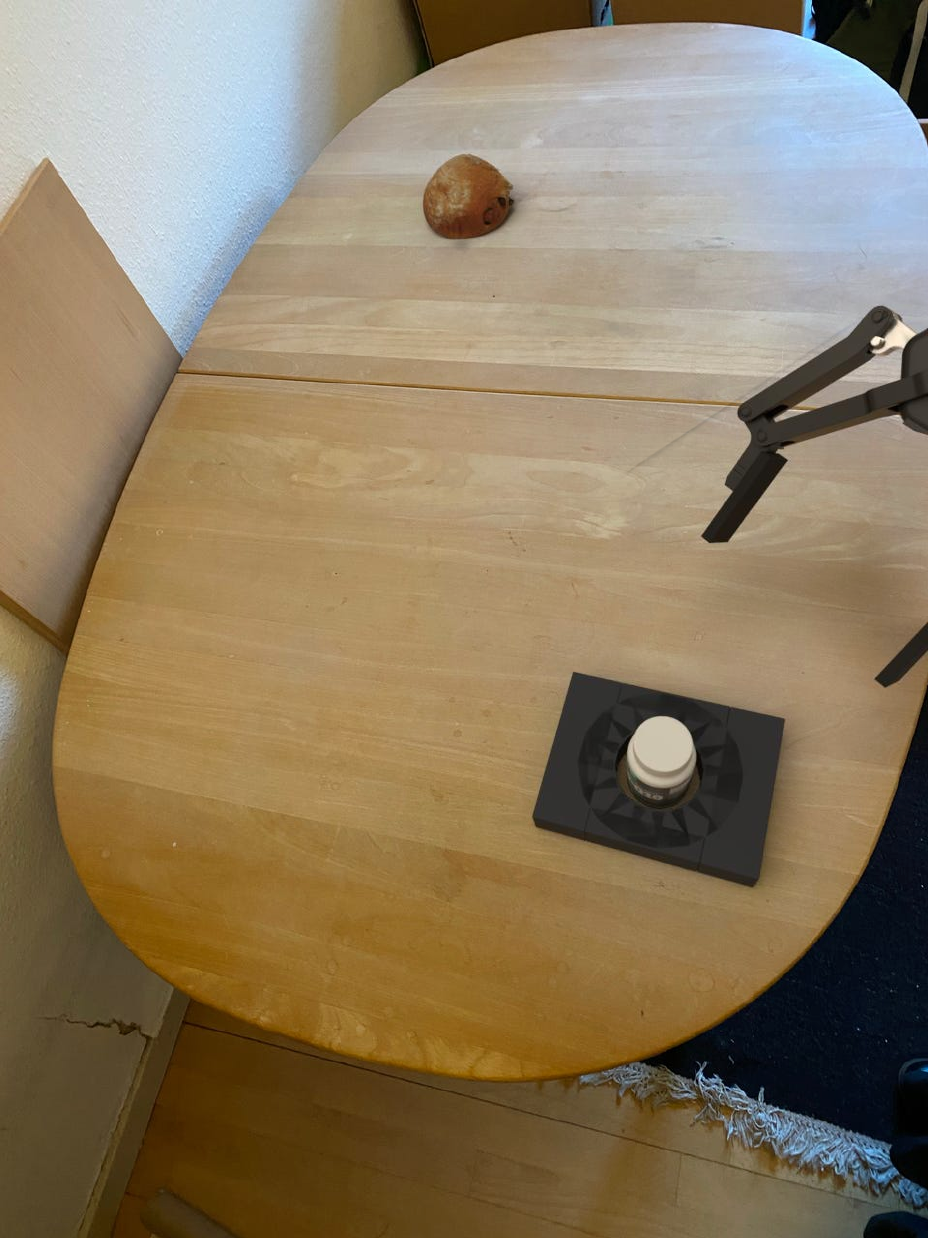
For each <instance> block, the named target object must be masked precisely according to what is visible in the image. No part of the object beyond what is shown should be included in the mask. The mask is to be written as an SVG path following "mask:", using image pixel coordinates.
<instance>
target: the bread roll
mask: <svg viewBox="0 0 928 1238" xmlns="http://www.w3.org/2000/svg"><path fill="white" fill-rule="evenodd" d="M513 189H514V185H513V184H512V183H511V182H510V181H509V180H507V178H506V177H505V176H503V175H502V173H501V172H500V170H499V168H497V167H495V166H494V165H493V164H491V163H490V162H488V161H487V160H485V159H483V158H481V157H479V156H477V155H473V154H472V153H461V154H458V155H455V156H453V157H451V158H450V159H448V160H446V161H445V162H444V163H443V164H441V165H440V166H439V167H438V168H437V169H436V171H435V173H434V174H433V176H432V177H431V178H430V179H429V181H428V182H427V184H426V186H425V188H424V193H423V198H422V210H423V215H424V218H425V221H426V223H427V224H428V226H429V227H430V228H431V229H432V230H433V231H434V232H435V233H437V234H438V235H441V236H442V237H445V238H448V239H451V240H452V239H453V240H454V239H455V240H456V239H457V240H459V239H470V238H477V237H481V236H483V235H486V234H487V233H490V232H492V231H494V230H495V229H497V228H498V227H499V226H500V225H501V224H502V223H503V222H504V221H505V219H506V216H507V214H508V212H509V211H510V208H511V206H513V205H514V204H515V199H512V198H511V196H510V191H512V190H513Z"/></svg>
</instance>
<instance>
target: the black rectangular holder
mask: <svg viewBox="0 0 928 1238" xmlns="http://www.w3.org/2000/svg"><path fill="white" fill-rule="evenodd" d="M657 716H666V717H671V718H674V719H676V720H678V721H680V722H681V723H682V724H683V725H684V726H685V727H686V728H687V729H688V730H689V732H690V734H691V737H692V740H693V744H694V746H695V750H696V764H695V767H696V769H697V774H698V778H699V787H698V788H697V790H696V792H695V793H693V795H692V797H691V798H690V799H689V800H687V801H686V802H684V803H682V804H680V805H679V806H678V807H675V808H674V807H673V808H664V809H655V808H652V807H648V806H644V805H641V804H639V803H638V802H636V800H634V799H633V798H631V797H630V796H628V794H627V793H626V792H625V790H624V788H623V787H622V785H621V783H620V781H618V779H619V778H618V774H617V772H618V767H619V765H620V762H621V760H622V759H623V758H624V756H625V755H626V754H627V750H628V745H629V742H630V740H631V738H632V737H633V735H634V734H635V732H636V730H637V729H638V727H639V726H640V725H641V724H642V723H643V722H644V721H646V720H648V719H650V718H653V717H657ZM785 721H786V719H785V718H784V717H780V716H774V715H771V714H765V713H761V712H756V711H752V710H748V709H743V708H739V707H735V706H730V705H727V704H721V703H717V702H711V701H707V700H703V699H699V698H694V697H689V696H684V695H680V694H675V693H671V692H666V691H663V690H657V689H653V688H649V687H645V686H644V687H643V686H640V685H636V684H635V685H634V684H631V683H627V682H626V683H625V682H622V681H618V680H613V679H608V678H604V677H599V676H595V675H591V674H586V673H581V672H577V671H572V674H571V678H570V680H569V685H568V688H567V691H566V695H565V699H564V702H563V706H562V709H561V713H560V716H559V720H558V723H557V727H556V730H555V734H554V737H553V742H552V745H551V748H550V751H549V755H548V758H547V762H546V765H545V766H546V767H545V769H544V772H543V776H542V779H541V784H540V787H539V790H538V794H537V797H536V800H535V805H534V808H533V811H532V815H531V818H532V820H533V824H534V826H535V827H536V828H538V829H541V830H545V831H548V832H552V833H556V834H560V835H563V836H566V837H571V838H574V839H577V840H581V841H585V842H588V843H592V844H595V845H598V846H599V845H600V846H603V847H605V848H610V849H613V850H616V851H621V852H623V853H627V854H631V855H634V856H638V857H642V858H645V859H649V860H652V861H656V862H660V863H662V864H663V863H664V864H667V865H670V866H675V867H678V868H681V869H684V870H689V871H692V872H697V873H699V874H703V875H706V876H710V877H714V878H717V879H720V880H724V881H728V882H732V883H735V884H738V885H743V886H746V887H750V888H754V886H755V885H756V883H757V882H758V881H759V880H760V874H761V868H762V862H763V857H764V850H765V845H766V838H767V833H768V826H769V819H770V815H771V813H770V812H771V809H772V808H771V807H772V801H773V796H774V789H775V784H776V783H775V782H776V778H777V771H778V764H779V759H780V753H781V746H782V740H783V734H784V729H785V723H786V722H785Z"/></svg>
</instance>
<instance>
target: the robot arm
mask: <svg viewBox="0 0 928 1238" xmlns="http://www.w3.org/2000/svg"><path fill="white" fill-rule="evenodd" d="M897 350H902V353H901V363H900V365H901V366H900V377H899V378H900V379H897V380H895V381H892V382H887V383H885V384H882V385H879V386H876V387H872V388H869V389H868V390H866V391H865V392H863V393H861V394H858V395H854V396H851V397H848V398H846V399H842V400H839V401H836V402H833V403H830V404H826V405H824V406H821V407H817V408H814V409H811V410H808V411H806V412H805V411H804V412H802V413H800V414H796V415H793V416H791V417H787V418H784V419H781V420H778V421H776V420H775V419H776V418H778V417H779V416H781V415H783V414H785V413H786V412H788V411H789V410H792V408H794V407H796V406H798V405H800V403H802V402H804V401H806V400H808V399H809V398H811V397H812V396H814V395H816V394H817V393H820V392H821V391H822V390H824V389H826V388H827V387H829V386H831V385H832V384H834V383H835V382H837V381H839V380H841V379H842V378H844V377H845V376H847V375H849V374H850V373H852V372H854V371H855V370H858V369H859V368H861V367H862V366H863V365H865V364H867V363H868V362H870V361H871V360H872V359H873V358H874V357H876V356H879V357H886V356H889V355H890V354H892V353H893V352H895V351H897ZM736 414H737V418H738V419H739V420H740V421H741V422H743V423H744V424H745V426H746V428H747V429H748V431H749V434H750V442H749V444H748V445H747V447H746V448H745V450H744V451H743V453H742V454H741V456H740V457H738V460H737V461H736V463H735V464H734V465H733V466H732V469H731V470H730V471H729V472H728V474H727V475H726V477H725V482H724V486H725V487H726V488H727V489H729V490H730V491H731V493H730V495H728V497H727V499H726V500H725V501H724V503H723V504H722V506H721V507H720V508H719V509H718V511H717V513H716V514H715V515H714V517H713V518H712V520H711V521H710V522H709V524H708V526H707V527H706V528H705V529H704V531H703V533H701V535H700V537H701V538H702V539H703V540H705V541H706V542H707V543H708V544H720V543H729V542H730V540H731V539H732V538H733V536H734V534H735V533H736V532H737V530H738V529H739V528H740V526H741V525H742V524H743V522H744V521H745V519H746V518H747V517H748V516H749V514H750V513H751V512H752V510H753V509H754V507H755V506H756V504H758V502H759V501H760V499H761V498H762V496H763V495H764V494H765V492H766V491H767V490H768V488H769V487H770V486H771V484H772V483H773V482H774V480H775V479H776V478H777V476H778V475H779V473H780V472H781V471H782V470H783V468H784V467H785V465H786V464H787V462H788V461H789V459H787V458H786V457H785V456H784V455H782V454H781V453H779V452H778V450H782V451H783V450H785V448H786V447H789V446H793V445H796V444H800V443H804V442H805V441H809V440H812V439H816V438H819V437H822V436H826V435H830V434H832V433H835V432H839V431H843V430H845V429H848V428H849V429H850V428H852V427H856V426H859V425H861V424H862V425H863V424H865V423H868V422H872V421H875V420H878V419H883V418H890V417H894V416H897V415H899V416H900V418H901V420H902V425H904V426H906V428H909V430H911V431H913V432H915V433H920V434H923V435H926V436H928V327H927V328H925V329H924V330H922V331H920V332H916V331H915V330H914V329H912V328H911V327H910V326H909V325H907V323H905V322H904V321H903V317H902V315H900V314H898V313H897V312H896V311H894V310H892V309H890V308H889V307H887V306H885V305H876V306H874V307H873V308H871V309H870V310H869V311H868V312H867V314H865V316H864V317H863V318H862V320H860V322H859V323H858V324H857V325H856V326H855V328H853V330H852V331H851V332H850V333H849V334H848V335H847V336H846V337H845V338H843V339H842V340H840V341H838V342H837V343H835V344H833V345H832V346H830V347H829V348H828V349H825V350H824V351H823V352H821V353H820V354H818V355H816V356H815V357H813V358H811V359H810V360H809V361H807V362H805V363H803V364H802V365H800V366H799V367H798V368H796V369H794V370H792V371H791V372H789V373H788V374H786V375H785V376H783V377H782V378H780V379H778V380H777V381H775V382H774V383H772V384H771V385H769V386H767V387H766V388H765V389H762V390H761V391H759V392H758V393H757V394H755V395H753V396H752V397H750V398H749V399H747V400H746V401H744V402H743V403H741V404H740V405H739V406H738V408H737V412H736ZM777 452H778V453H777ZM927 652H928V621H927V622H926V623H925V624H924V625H923V626H922V627H921V628H920V629H919V630H918V631H917V633H916V634H915V635H914V636H913V637H912V638H911V639H909V641H908V642H907V643H906V644H905V645H904V646H903V648H901V650H899V652H898V653H897V654H896V655H895V656H894V657H893V658H892V659H891V660H890V661H889V662H888V664H887V665H885V666H884V668H882V670H881V671H880V672H879V673H878V674H877V675H876V676H875V677H874V681H876V682H877V683H878V684H879V685H881V686H882V688H884V689H886V688H888V687H890V686H892V685H894V684H896V683H898V682H900V681H901V679H902V678H903V677H904V676H905V675H906V674H907V673H908V672H909V671H910V670H911V669H912V668H913V667H914V666H915V665H916V664H917V663H918V662H919V661H920V660H921V659H922V658H923V657H924V656H925V655H926V654H927Z"/></svg>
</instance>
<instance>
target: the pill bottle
mask: <svg viewBox="0 0 928 1238" xmlns="http://www.w3.org/2000/svg"><path fill="white" fill-rule="evenodd" d="M695 764H696V750H695V746H694V744H693V740H692V737H691V734H690V732H689V730H688V729H687V728H686V727H685V726H684V725H683V724H682V723H681V722H680V721H678V720H676V719H674V718H671V717H666V716H657V717H653V718H650V719H648V720H646V721H644V722H643V723H642V724H641V725H640V726H639V727H638V729H637V730H636V732H635V734H634V735H633V737H632V738H631V740H630V742H629V745H628V750H627V752H626V782H627V786H628V788H629V790H630V792H631V794H632V796H634V797H635V799H637V800H638V801H639V802H641V803H642V804H643V805H645V806H647V807H650V808H658V809H665V808H668V807H671V806H674V805H676V804H678V803H679V802H680V801H681V800H682V799H683V798H684V797H685V795H686V794H687V792H688V791H689V788H690V784H691V782H692V777H693V774H694V771H695V767H696V765H695Z"/></svg>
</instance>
